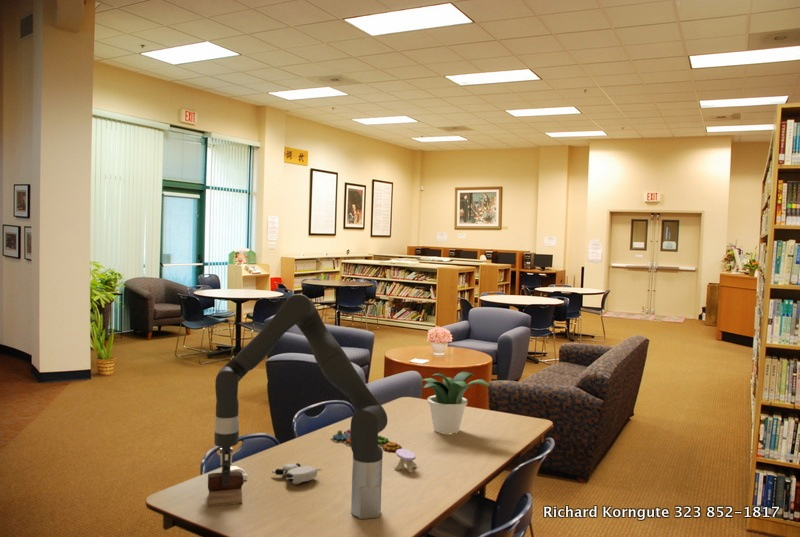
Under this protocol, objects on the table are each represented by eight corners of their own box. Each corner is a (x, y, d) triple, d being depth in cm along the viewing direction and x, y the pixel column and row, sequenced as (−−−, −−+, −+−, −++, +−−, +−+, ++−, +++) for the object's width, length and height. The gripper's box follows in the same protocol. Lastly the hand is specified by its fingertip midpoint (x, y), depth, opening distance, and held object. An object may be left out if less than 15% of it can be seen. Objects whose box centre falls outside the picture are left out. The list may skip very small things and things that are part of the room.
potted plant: (474, 448, 251) (476, 387, 250) (401, 432, 268) (403, 376, 267) (501, 429, 278) (503, 374, 277) (433, 416, 296) (435, 364, 295)
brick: (208, 492, 190) (208, 477, 190) (207, 487, 194) (207, 473, 194) (242, 488, 194) (243, 474, 194) (241, 483, 198) (241, 469, 198)
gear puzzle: (409, 448, 250) (409, 438, 250) (386, 458, 237) (386, 448, 237) (351, 432, 268) (351, 423, 268) (327, 441, 255) (327, 431, 255)
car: (240, 474, 215) (241, 461, 215) (249, 480, 211) (249, 467, 211) (208, 483, 207) (209, 469, 207) (216, 488, 203) (217, 475, 203)
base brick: (242, 503, 191) (242, 492, 191) (207, 506, 188) (208, 495, 188) (241, 491, 200) (241, 481, 200) (208, 494, 197) (208, 483, 197)
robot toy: (269, 479, 214) (294, 489, 203) (269, 466, 214) (293, 476, 203) (298, 471, 222) (323, 480, 212) (298, 459, 222) (323, 467, 212)
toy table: (390, 464, 230) (390, 449, 230) (412, 462, 233) (413, 447, 232) (397, 474, 221) (398, 458, 220) (421, 472, 223) (421, 456, 223)
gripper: (239, 435, 188) (238, 487, 188) (238, 422, 201) (237, 470, 202) (214, 437, 186) (213, 489, 186) (214, 423, 199) (213, 471, 200)
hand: (225, 479), depth 194 cm, fingers open, 8 cm apart
